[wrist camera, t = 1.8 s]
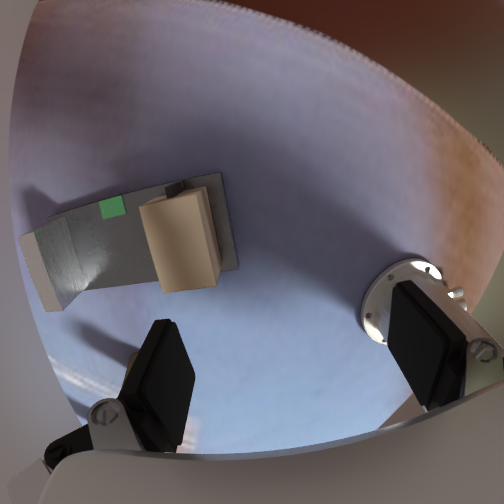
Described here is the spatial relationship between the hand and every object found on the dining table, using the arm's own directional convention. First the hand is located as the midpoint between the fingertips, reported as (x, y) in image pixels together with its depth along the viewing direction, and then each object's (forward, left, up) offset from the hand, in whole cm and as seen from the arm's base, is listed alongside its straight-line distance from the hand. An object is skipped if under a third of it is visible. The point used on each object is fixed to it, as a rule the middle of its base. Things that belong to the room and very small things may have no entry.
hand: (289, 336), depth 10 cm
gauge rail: (+15, 0, -20) cm, 25 cm away
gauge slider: (+8, -1, -18) cm, 20 cm away
